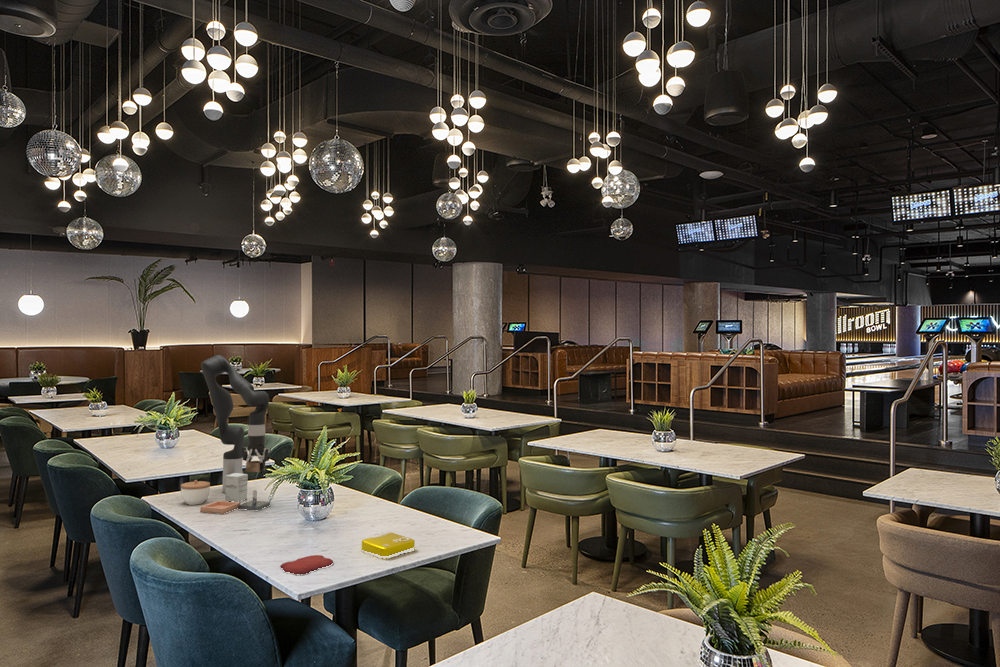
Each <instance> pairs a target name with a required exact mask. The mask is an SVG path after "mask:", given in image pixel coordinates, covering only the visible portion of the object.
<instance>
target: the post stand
mask: <svg viewBox="0 0 1000 667" xmlns="http://www.w3.org/2000/svg"><path fill="white" fill-rule="evenodd" d="M257 497H258V490H257V489H254V490H252V500H249V501H247V502H246V501H245V502H244V503H241V504H240V505H238V509H247V510H259V509H262V508H264V507H267V506H269V505H270V506H271V501H263V500H257V499H258V498H257ZM270 506H269V507H270ZM267 508H268V507H267ZM238 509H237V510H238ZM247 510H246V511H247ZM262 510H263V509H262Z"/></svg>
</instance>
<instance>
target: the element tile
mask: <svg viewBox="0 0 1000 667" xmlns="http://www.w3.org/2000/svg"><path fill="white" fill-rule="evenodd" d="M415 541H416V540H415V539H413V538H410V537H406V536H405V535H404V536H403V535H401V534H398V533H396V532H395V533H394V532H387V533H384V534H380V535H375V536H372V537H369V538H364V539H362V540H361V551H362V550H364V551H367V552H371V553H374V554H378V555H380V556H389V555H392V554H395V553H398V552H401V551H404V550H407V549H410V548H413V547H414V546H415ZM414 548H415V547H414Z"/></svg>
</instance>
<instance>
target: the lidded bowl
mask: <svg viewBox="0 0 1000 667" xmlns="http://www.w3.org/2000/svg"><path fill="white" fill-rule="evenodd" d="M210 487H211V482H209V481H203V480H199V481H198V479H194V481H189V482H184V483H182V484H180V493H181V499H182V501H184V503H186V505H188V504H189V505H190V506H196V505H195V504H198V505H201V503H202V504H204V502H206V500H207V499H208V497H209V495H210Z"/></svg>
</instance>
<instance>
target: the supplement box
mask: <svg viewBox="0 0 1000 667" xmlns="http://www.w3.org/2000/svg"><path fill="white" fill-rule="evenodd" d="M248 477H249V475H248V474H247V473H243V474H241V473H233V474H230V475H226V487H225V493H224V501H227V502H229V501H234V502H238V501H241V500H244V499H247V500H248V479H249V478H248ZM244 501H245V500H244ZM241 502H242V501H241Z"/></svg>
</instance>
